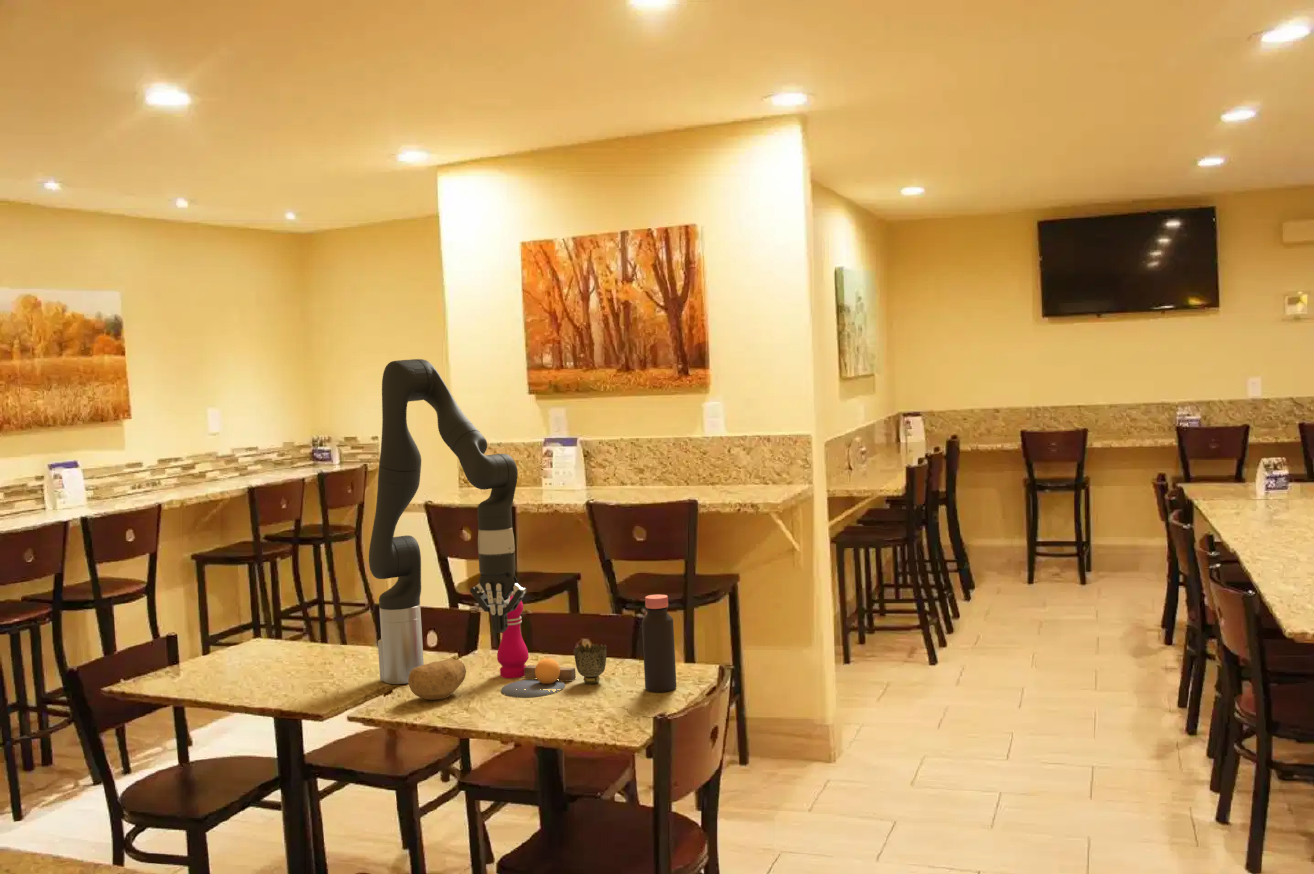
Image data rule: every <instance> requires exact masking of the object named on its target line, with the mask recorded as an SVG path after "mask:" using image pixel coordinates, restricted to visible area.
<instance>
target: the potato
mask: <svg viewBox="0 0 1314 874" xmlns="http://www.w3.org/2000/svg"><path fill="white" fill-rule="evenodd" d="M466 674H467V669H466V666H465V663H464V662H463V661H461V660H459V659H453V658H450V659H449V658H448V659H444V660H436V661H433V662H429V663H425V664H424V665H422V666H419V667H416V668H414V669H413V670H412V671H411V672H410V675H409V679H408V683H407V684H408V687H409V689H410V691H411V693H413V695H415V696H416V697H418V698H421V699H425V700H434V701H435V700H443V699H446V698H448V697H450V696H451V695H453V693H454V692H456V690H458V688H459V687H460V686H461V684H462V683H463V682H464V681H465V679H466Z"/></svg>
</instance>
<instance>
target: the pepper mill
mask: <svg viewBox="0 0 1314 874" xmlns="http://www.w3.org/2000/svg"><path fill="white" fill-rule="evenodd" d="M513 591H514V590H513ZM513 591H512V593H511V595H510V600H511V599H512V597H513V596H514V595H513ZM509 602H510V601H509ZM523 612H524V604H523V601H522V600H521V602H520V603H519V605H518V606H517V608H516V609H515V610H514V611H511V612H509V613H508V614H507V619H508V627H507V629H506V631H505V632H503V633H501V634H502V636H501V640H500V643H499V646H498V649H497V653H496V656H497V658H496V659H497V662H498V663H499V664H500V665H501V667H500V668H499V676H500V677H501V678H502V679H518V678H524V677H525V672H524V667H526V666H527V665H526V662H528V659H529V657H530V656H529V650H528V647H527V645H526V643H525V641H524V639H523V636H522V631H521V624H522V622H523V621H522V616H521V614H522V613H523Z"/></svg>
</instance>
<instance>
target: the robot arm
mask: <svg viewBox="0 0 1314 874" xmlns="http://www.w3.org/2000/svg"><path fill="white" fill-rule="evenodd" d="M381 400H382V401H381V411H382V412H381V413H382V422H381V424H382V425H381V426H382V427H381V442H380V455H379V462H378V474H377V475H378V476H377V493H376V505H375V513H374V520H373V526H372V531H371V538H370V543H369V549H368V566H369V569H370V572H371V575H372V576H373V577H374V578H376V579H377V580H385V579H393V578H397V581H396V582H395V584H393V586H391V587H390V588H388V589H387V590H386V591H384V592H383V593H381V594H380V595H379V598H378V607H379V622H380V624H379V625H380V636H381V637H380V639H379V640H377V650H378V651H377V653H378V654H377V655H378V669H379V681H380V682H384V683H386V684H389V685H390V684H393V685H401V684H402V685H403V684H404V685H405V684H408V679H409V675H410V672H411V671H412V670H413V669H414V668H416V667H419V666H422V665H425V664H424V663H425V662H424V649H423V648H424V647H423V646H424V643H423V629H422V615H421V613H422V611H421V595H422V554H421V550H420V549H421V548H420V545H419V542H418V541H417V539H416V538H415V537H414V536H411V535H399V536H394V535H395V530H396V527H397V524H398V522H399V520H400V518H401V516H402V514H403V513H404V512H405V510H406V509H407V508H408V506H409V505H410V503H411V502H412V500H413V499H414V497H415V495H416V494H417V492H418V489H419V487H420V481H421V473H422V471H421V469H422V456H421V452H420V450H419V448H418V445H417V444H416V442H415V440H414V438H413V437H412V435H411V432H410V430H409V427H408V419H407V415H408V414H407V412H408V411H407V409H408V403H409V402H417V401H419V402H420V401H425V402H426V403H427V404H429V405H430V406H431V407H432V408H433V409H434V411H435V412H436V416H437V428H438V431H439V432H438V433H439V435H440V436H441V439H442V441H443V442H444V443H445V444H446V445H447V447H448V448H449V449H450V450H451V452H452V453H453V454H454V455H455V456H456V457H457V458H458V461H459V463H460V466H461V467H462V470H463V472H464V475H465V477H466V479H467V481H468V482H469V484H470V485H472V486H473V487H474V488H475V489H479V490H483V491H484V490H490V489H491V490H490V495H489V497H488V498H486V499H485V500H483V501H482V502H480V503H479V504H478V505H477V523H478V524H477V525H478V527H477V529H478V535H477V551H478V553H477V554H478V568H479V569H478V572H479V573H480V577H479V579H478V584H476V585H475V586H473V587H471V588H470V589H469V590H470V591H469V592H470V593H471V595H472V596H473V598H474V599H475V601H476V602H477V603H478V604H479V606H480V608H481V609H482V611H484V612H488V614H489V613H490V614H491V618H492V619H491V621H492V630H493V631H494V633H498V634H499V633H500V634H502V633H503V632H505V631H506V629H507V627H508V619H507V614H508V613H509V612H511V611H514V610H515V609H516V608H517V606H518V605H519V603H520V602H521V601H522V600H523V599H524V597H525V596H526V594H527V592H528V589H527V587H522V586H521V584H519V583H518V578H517V576H516V569H517V568H516V553H515V551H516V545H515V535H514V531H513V530H514V528H513V517H512V516H513V514H512V509H513V508H512V507H513V502H514V499H515V498H514V497H515V495H516V494H515V493H516V488H517V484H518V482H517V481H518V474H519V473H518V467H517V464H516V462H515V460H514V459H513V457H512V456H511V455H509V454H507V453H496V454H486V455H485V453H486V452H487V449H488V442H487V440H486V438H485V436H484V435H483V434H482V433H481V431H480V430H479V429H478V428H477V427H476V426H475V425H474V424H473V422H471V420H469V418H468V417H467V415H465V413H464V412H463V411H462V409H461V407H460V406H459V404H458V403H457V401H456V400H455V398H454V396H453V395H452V393H451V391H450V390H449V388H448V387H447V385H446V383H445V381H444V380H443V378H442V376H441V374H440V373H439V372H438V370H437V369H436V368H435V367H434V365H433V364H432V363H431V362H430V361H429V360H427V359H421V358H417V359H415V358H413V359H402V360H393V361H390V362H388V363H387V365H386V366H385V367H384V370H383V373H382V380H381ZM512 591H513V595H512V596H513V597H512V599H511V600H510V595H511V593H512ZM509 601H510V602H509Z"/></svg>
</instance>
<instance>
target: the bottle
mask: <svg viewBox="0 0 1314 874" xmlns="http://www.w3.org/2000/svg"><path fill="white" fill-rule="evenodd" d="M644 606H645V610H646V612H647V613H646V615H645V616H644V617H643V618H642V621H641V631H642V650H643V668H644V672H643V673H644V688H645V689H646V691H647V692H650V691H651V693H667V691H668V692H672V691H674V690H675V689H676V688H677V673H676V672H677V671H676V670H677V669H676V650H675V649H676V647H675V629H674V628H675V627H674V626H675V624H674V618H673V617H672V616H671V615H670V614H669V613H668V609H669V596H668V595H667V594H658V593H657V594H649V595H646V596H644ZM671 690H672V691H671Z"/></svg>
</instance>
